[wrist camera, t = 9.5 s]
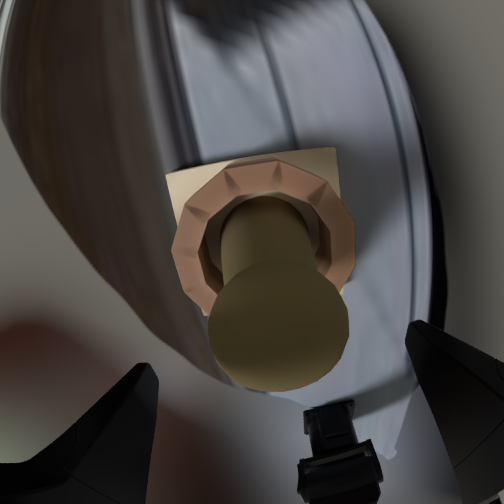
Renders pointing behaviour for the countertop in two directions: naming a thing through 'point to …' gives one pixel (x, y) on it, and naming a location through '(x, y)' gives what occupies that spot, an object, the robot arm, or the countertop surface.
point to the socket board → (250, 186)
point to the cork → (274, 301)
